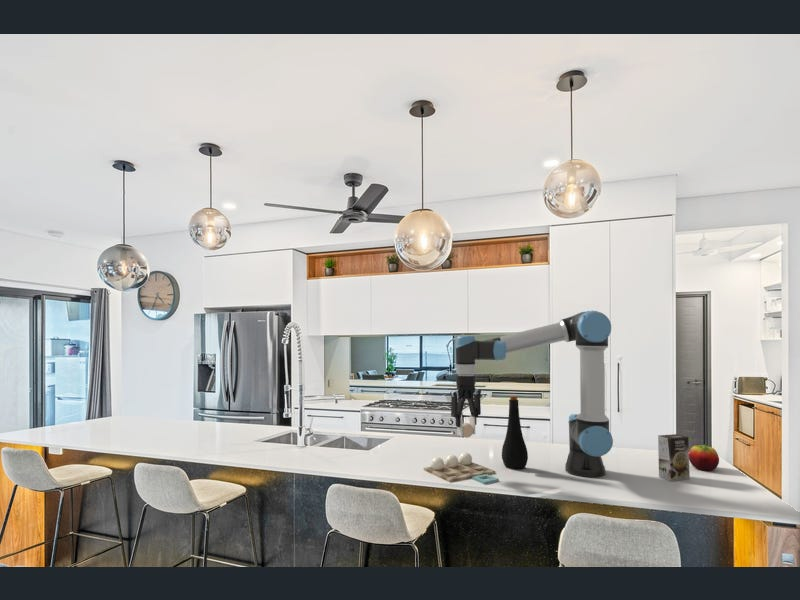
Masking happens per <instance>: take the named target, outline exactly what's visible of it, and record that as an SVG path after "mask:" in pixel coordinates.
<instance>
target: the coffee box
mask: <svg viewBox="0 0 800 600" xmlns="http://www.w3.org/2000/svg"><path fill="white" fill-rule="evenodd" d="M657 441H658V442H657V443H658V445H657V446H658V447H657V448H658V456H657V457H658V477H660V478H663V479H664V480H668V481H670V482H676V481H677V482H678V481H683V480H684V481H685V480H690V479H691V478H690V476H691V475H690V461H689V452H690V448H689V446H690V445H689V441H690V440H689V437H688V436H685V435H680V434H673V433H672V434H660V435H657Z"/></svg>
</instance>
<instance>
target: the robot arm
mask: <svg viewBox="0 0 800 600" xmlns="http://www.w3.org/2000/svg"><path fill="white" fill-rule="evenodd" d="M611 333H612V322H611V320H610V319H609V318H608V316H607V315H606V314H604V313H602V312H601V311H597V310H588V311H581V312H579V313H576V314H574V315H572V316H569V317H566V318H562V319H560V320H559V322H556V323H552V324H551V323H550V324H546V325H544V326H543V325H542V326H540V327H535V328H530V329H528V330H523V331H518V332H515V333H510V334H507V335H502V336H500V337H495V338H490V339H489V338H488V339H484V340H476V337H475V336H474V335H458V336H456V339H455V362H456V363H455V364H456V365H455V369H456V370H455V373H456V374H457V375H456V376H455V379H456V380H455V382H456V383H455V384H456V389H455V390H454V391H453V390H451V391H450V393H449V394H450V397H451V401H450V402H451V403H450V406H451V407H450V409H451V410H450V411H451V412H450V415H451V417H452V418H454V419H455V427H456V434H457V436H459V437H463V424H464V421H463V418H462V415H463V409H464V404H465V402H466V401H467V404H468V408H469V411H470V416H469V417H468V418H469V419H468V420H469V424H470V425H471V426H472V427H473V434H472V435H476V426H477V418H478V417H479V416H481V415H482V411H481V409H482V407H481V406H482V405H481V394H482V390H481V389H477V388H476V387H475V385H476V375H475V374H476V361H480V360H481V361H504V360H505V359H506V358H507V354H512V353H516V352H520V351H524V350H529V349H535V348H537V347H541V346H546V345H550V344H555V343H559V342H563V341H564V342H566V343H570V342H575V347H576V348H577V349H578V350H579V373H580V374H579V380H580V381H579V382H580V383H579V384H580V387H579V388H580V389H579V391H580V396H579V397H580V413H576V414H575V413H574V414H573V413H572V414H570V415H569V416H568V421H567V422H568V435H569V436H568V437H569V438H568V439H569V440H568V442H569V444H568V445H569V453H568V455H567V459H566V462H565V469H564V470H565V472H567V473H568V474H570V475H574V476H578V477H584V478H585V477H586V478H597V477H598V478H599V477H603V476H605V475H606V467H605V465H604V461H603V458H602V457H603V456H605V455H607V454H608V453H609V452H610V451H611V449H612V447H613V443H614V439H613V436H612V433H611V432H610V419H609V417H608V416H607V415H606V414H605V413H606V412H605V411H606V410H605V408H606V407H605V406H606V405H605V404H606V403H605V350H606V349H607V348H609V336H610V335H611Z"/></svg>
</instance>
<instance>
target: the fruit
mask: <svg viewBox="0 0 800 600" xmlns="http://www.w3.org/2000/svg"><path fill="white" fill-rule="evenodd" d="M719 463H720V456H719V455H718V452H717V450H716V449H715V448H714V447H711V446H707V445H706V444H702V445H693V446H692V447H691V448H689V464H691V465H692V467H693V468H695V469H697V470H699V471H705V472H711V471H714V470H715V469H716V468H717V467H718V466H719Z"/></svg>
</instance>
